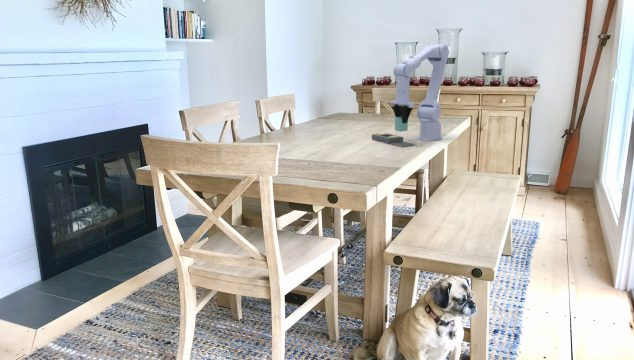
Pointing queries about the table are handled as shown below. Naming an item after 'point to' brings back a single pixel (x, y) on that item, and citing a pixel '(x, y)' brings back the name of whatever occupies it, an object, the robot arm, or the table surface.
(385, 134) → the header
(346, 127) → the table surface
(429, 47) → the robot arm
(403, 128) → the plug
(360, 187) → the table surface
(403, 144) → the mat
